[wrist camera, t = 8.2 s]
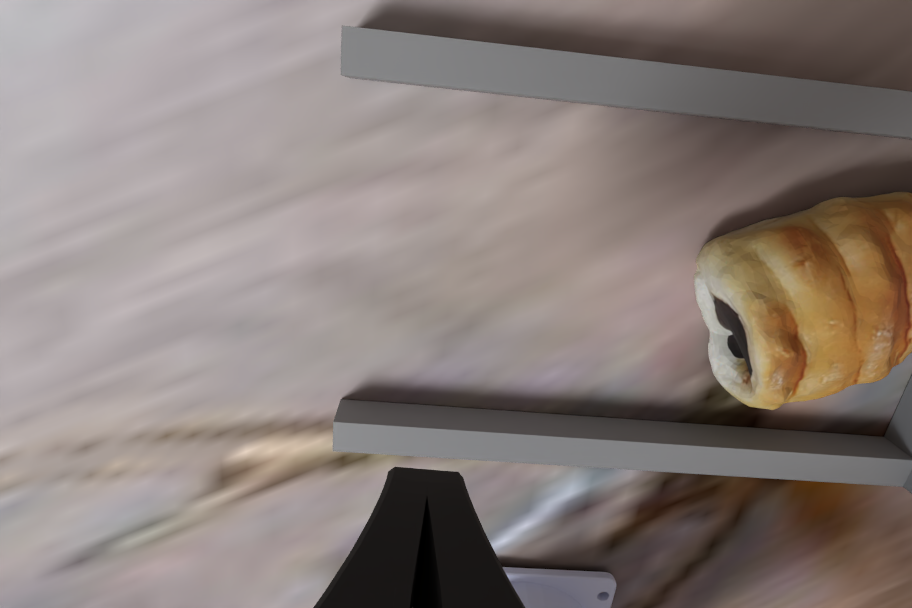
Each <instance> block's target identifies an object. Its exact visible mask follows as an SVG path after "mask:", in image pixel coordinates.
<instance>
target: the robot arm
mask: <svg viewBox="0 0 912 608" xmlns="http://www.w3.org/2000/svg"><path fill="white" fill-rule="evenodd" d="M615 591H616V581H615V579H614V577H613V575H612V574H610V573H607V572H594V571H573V570H553V569H533V568H512V567H502V566H501V564H500V562H499V560H498V558H497V556H496V554H495V552H494V550H493V548H492V546H491V544H490V542H489V540H488V538H487V536H486V534H485V532H484V530H483V528H482V525H481V523H480V521H479V519H478V516H477V514H476V512H475V509H474V507H473V505H472V502H471V500H470V497H469V494H468V491H467V489H466V486H465V483H464V479H463V477H462V476H461V475H460V474H459V472H450V471H438V470H426V469H414V468H401V467H394V468H393V469H391V470H390V471H388V475H387V479H386V482H385V485H384V488H383V490H382V493H381V495H380V498H379V500H378V502H377V504H376V506H375V508H374V510H373V512H372V514H371V516H370V518H369V520H368V522H367V524H366V526H365V527H364V529H363V531H362V533H361V534H360V536H359V538H358V540H357V542H356V543H355V545H354V547H353V549H352V550H351V552H350V554H349V555H348V557H347V558H346V560H345V562H344V563H343V565H342V566H341V568H340V569H339V571H338V572H337V574H336V575H335V577H334V578H333V580H332V582H331V583H330V585H329V586H328V588H327V589H326V591H325V592H324V594H323V595H322V596H321V598H320V599H319V601H318V602H317V603H316V605H315V606H314V608H412V607H413V608H611V605H612V601H613V598H614V594H615ZM601 592H602V593H601Z"/></svg>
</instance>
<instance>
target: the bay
mask: <svg viewBox="0 0 912 608" xmlns="http://www.w3.org/2000/svg"><path fill="white" fill-rule="evenodd" d="M341 75H342V76H345V77H348V78H355V79H364V80H373V81H382V82H391V83H400V84H410V85H419V86H428V87H437V88H446V89H455V90H464V91H474V92H483V93H492V94H501V95H510V96H519V97H528V98H537V99H547V100H556V101H565V102H574V103H583V104H592V105H601V106H611V107H620V108H629V109H638V110H647V111H656V112H665V113H675V114H684V115H693V116H702V117H711V118H720V119H729V120H738V121H748V122H757V123H766V124H775V125H784V126H793V127H802V128H812V129H821V130H830V131H839V132H848V133H857V134H866V135H875V136H885V137H894V138H903V139H912V91H903V90H894V89H886V88H877V87H868V86H860V85H851V84H843V83H834V82H825V81H817V80H808V79H799V78H791V77H782V76H774V75H765V74H756V73H748V72H739V71H730V70H722V69H713V68H705V67H696V66H687V65H679V64H670V63H661V62H653V61H644V60H636V59H627V58H618V57H610V56H601V55H592V54H584V53H575V52H567V51H558V50H549V49H541V48H532V47H523V46H515V45H506V44H498V43H489V42H480V41H472V40H463V39H454V38H446V37H437V36H429V35H420V34H411V33H403V32H394V31H385V30H377V29H368V28H360V27H351V26H342V38H341ZM333 451H339V452H355V453H371V454H387V455H403V456H419V457H435V458H451V459H467V460H483V461H499V462H515V463H531V464H547V465H563V466H579V467H594V468H610V469H626V470H642V471H658V472H674V473H690V474H706V475H722V476H738V477H754V478H770V479H786V480H802V481H818V482H834V483H850V484H866V485H882V486H898V487H904V488H905V489H907V490H908V491H909V492H910V493H911V494H912V376H911V378H910V380H909V382H908V385H907V387H906V389H905V391H904V393H903V396H902V398H901V400H900V402H899V404H898V407H897V409H896V411H895V413H894V415H893V418H892V420H891V422H890V424H889V426H888V429H887V431H886V433H885V435H884V437H881V436H866V435H852V434H837V433H823V432H808V431H794V430H779V429H765V428H750V427H736V426H721V425H707V424H692V423H678V422H664V421H649V420H635V419H620V418H606V417H591V416H577V415H562V414H548V413H533V412H519V411H504V410H490V409H475V408H461V407H446V406H432V405H418V404H403V403H389V402H374V401H360V400H345V399H341V401H340V404H339V407H338V410H337V413H336V416H335V419H334V422H333Z"/></svg>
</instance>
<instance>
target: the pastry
mask: <svg viewBox="0 0 912 608" xmlns="http://www.w3.org/2000/svg"><path fill="white" fill-rule="evenodd" d="M696 263H697V271H696V273H695V275H694V286H695V295H696V301H697V303H698V305H699V307H700V309H701V312H702V317H703V319H704V321H705V323H706V325H707V327H708V329H709V331H710V339H709V343H708V354H709V360H710V363H711V366H712V371H713V374H714V376H715V377H716V379H717V380H718V381H719V382H720V384H721V385H722V386H723V387H724V388H725V389H726V390H727V391H728V392H729V393H730V394H731V395H733V396H734V397H735V398H737V399H738V400H739V401H741V402H742V403H744V404H746V405H747V406H749V407H757V408H764V409H770V410H774V409H777V408H779V407H780V406H781V405H782V404H784V403H788V402H797V401H807V400H814V399H818V398H822V397H825V396H828V395H831V394H835V393H837V392H839V391H841V390H843V389H845V388H846V387H848V386H851V385H854V384H861V383H871V382H875V381H878V380H881V379H883V378H884V377H886V376H887V375H888V374H889V372H890V371H891V369H892V367H894V366H896V365H898V364H899V363H901V362H902V361H904V359H905V358H906V357H907V355H909V354H910V353H911V352H912V193H909V192H893V193H889V194H882V195H876V196H871V197H860V198H850V197H837V198H833V199H829V200H826V201H823V202H821V203H818V204H817V205H815V206H814V207H812V208H810V209H808V210H804V211H800V212H797V213H794V214H791V215H787V216H782V217H778V218H772V219H767V220H763V221H761V222H758V223H755V224H752V225H749V226H746V227H744V228H741V229H739V230H735V231H732V232H729V233H727V234H725V235H723V236H719V237H717V238H714V239H713V240H711V241H709V242H708V243H706V244H705V245H704V246H703V248H702V249H701V251H700V253H699V255H698V256H697V258H696Z"/></svg>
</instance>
